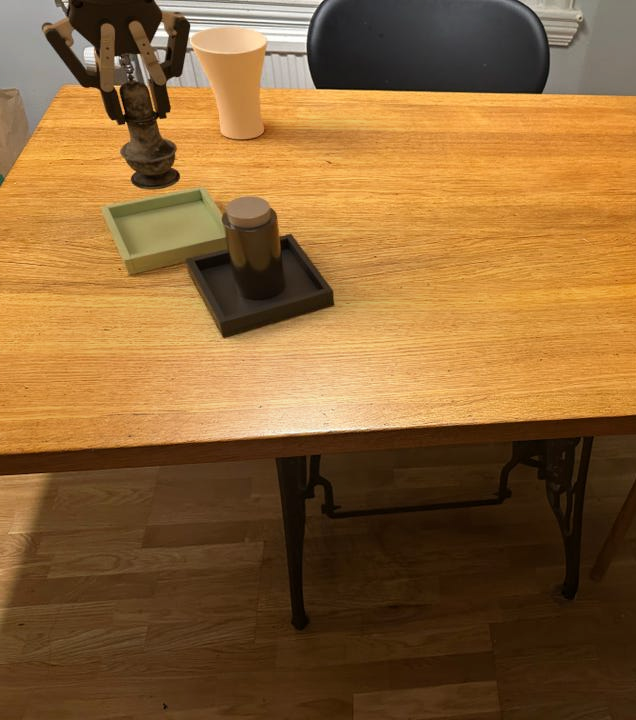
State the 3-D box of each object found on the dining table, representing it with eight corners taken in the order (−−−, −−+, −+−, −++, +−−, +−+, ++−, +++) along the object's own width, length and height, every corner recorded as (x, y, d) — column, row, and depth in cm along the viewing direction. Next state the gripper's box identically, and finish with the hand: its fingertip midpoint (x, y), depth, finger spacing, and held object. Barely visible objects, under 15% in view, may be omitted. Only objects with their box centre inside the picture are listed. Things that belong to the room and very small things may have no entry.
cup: (210, 115, 110) (194, 25, 101) (278, 116, 112) (269, 27, 103) (203, 146, 103) (184, 52, 94) (276, 146, 105) (265, 54, 96)
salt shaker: (125, 169, 81) (96, 64, 73) (179, 163, 83) (156, 61, 75) (130, 194, 78) (100, 87, 69) (186, 187, 80) (163, 82, 72)
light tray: (128, 275, 80) (124, 260, 78) (104, 220, 87) (100, 206, 85) (238, 249, 85) (235, 234, 84) (207, 199, 92) (204, 185, 91)
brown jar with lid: (244, 305, 77) (229, 226, 70) (227, 278, 80) (212, 199, 73) (292, 292, 79) (283, 214, 72) (275, 265, 82) (264, 188, 75)
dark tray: (223, 338, 73) (219, 322, 72) (188, 273, 81) (185, 258, 79) (334, 305, 79) (333, 290, 78) (292, 247, 86) (291, 233, 85)
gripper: (14, -47, 59) (76, 145, 70) (187, -54, 65) (217, 123, 77) (3, -69, 63) (63, 115, 75) (165, -74, 69) (197, 96, 81)
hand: (141, 118), depth 76 cm, fingers closed on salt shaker, 3 cm apart
